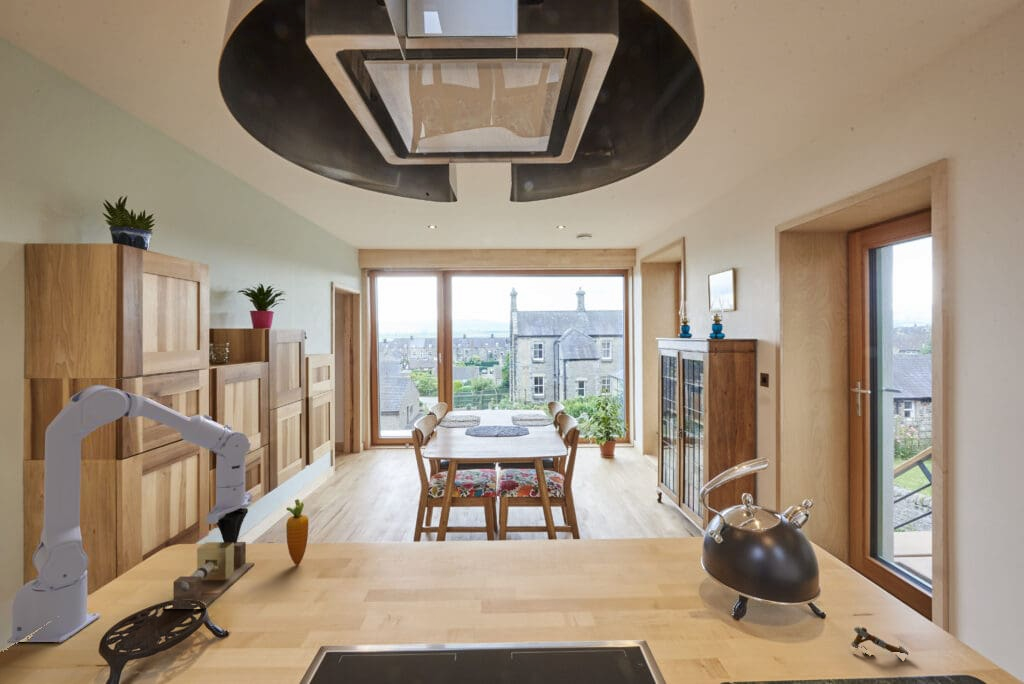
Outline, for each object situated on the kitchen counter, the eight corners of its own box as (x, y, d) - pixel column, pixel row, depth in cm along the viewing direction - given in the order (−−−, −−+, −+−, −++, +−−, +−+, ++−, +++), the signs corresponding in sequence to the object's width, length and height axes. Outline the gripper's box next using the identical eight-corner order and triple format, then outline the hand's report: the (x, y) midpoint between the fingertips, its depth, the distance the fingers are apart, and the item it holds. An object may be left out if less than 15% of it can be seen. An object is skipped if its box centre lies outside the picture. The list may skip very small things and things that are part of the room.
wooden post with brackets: (842, 644, 80) (853, 621, 79) (889, 668, 78) (902, 645, 78) (847, 651, 78) (859, 627, 78) (896, 676, 77) (909, 652, 76)
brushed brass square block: (225, 579, 99) (225, 548, 99) (197, 579, 99) (197, 548, 99) (233, 572, 102) (233, 542, 102) (206, 572, 102) (206, 542, 102)
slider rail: (204, 609, 90) (204, 581, 90) (162, 610, 90) (163, 581, 90) (254, 565, 108) (254, 541, 108) (219, 565, 108) (219, 541, 108)
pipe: (189, 592, 90) (189, 581, 90) (178, 592, 90) (178, 581, 90) (241, 550, 108) (241, 541, 108) (232, 550, 108) (232, 541, 108)
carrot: (303, 570, 106) (303, 504, 106) (281, 570, 106) (281, 504, 106) (312, 560, 111) (313, 497, 111) (292, 560, 111) (292, 497, 111)
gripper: (229, 494, 99) (229, 558, 99) (264, 474, 113) (264, 530, 113) (196, 494, 99) (196, 558, 99) (235, 474, 113) (235, 530, 113)
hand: (230, 543), depth 106 cm, fingers closed
